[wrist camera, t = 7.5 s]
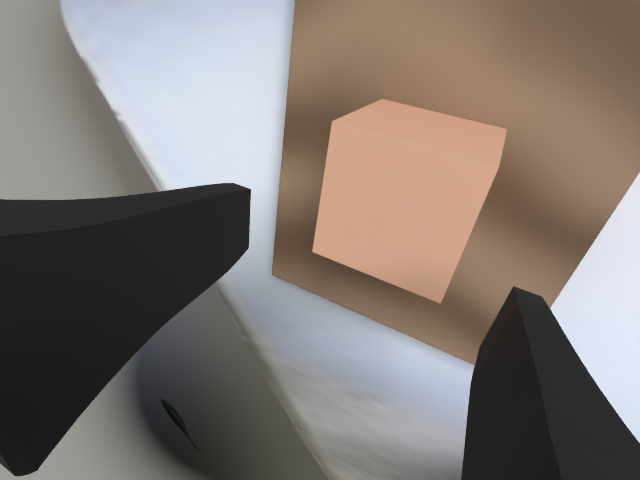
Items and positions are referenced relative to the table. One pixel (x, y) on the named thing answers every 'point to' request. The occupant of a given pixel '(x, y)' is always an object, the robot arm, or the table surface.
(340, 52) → the walnut base
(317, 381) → the table surface
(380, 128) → the terracotta block
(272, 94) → the table surface
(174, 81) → the table surface
